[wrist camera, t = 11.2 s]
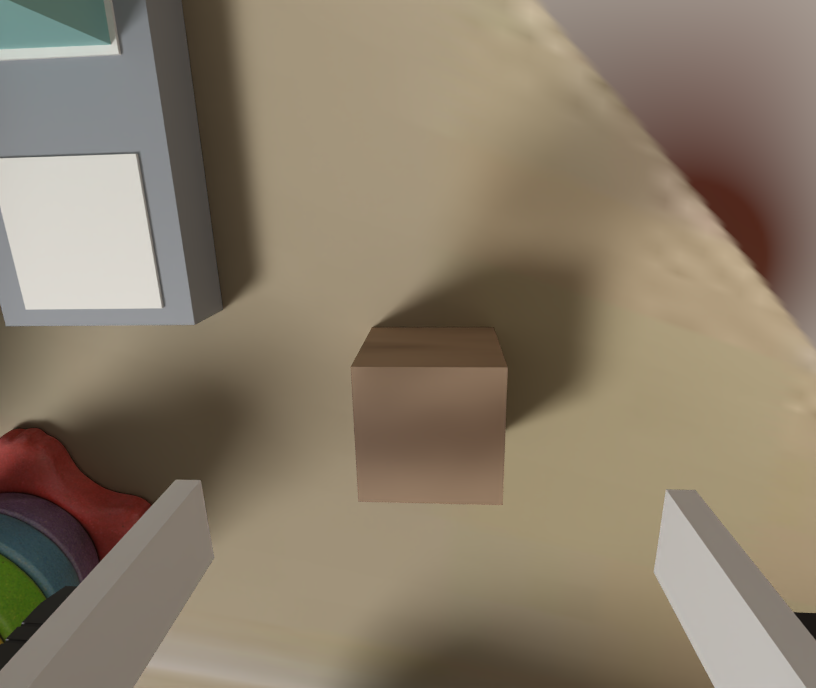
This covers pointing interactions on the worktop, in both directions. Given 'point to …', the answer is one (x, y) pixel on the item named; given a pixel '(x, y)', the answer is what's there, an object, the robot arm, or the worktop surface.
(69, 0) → the teal block
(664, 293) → the worktop surface
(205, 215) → the plinth
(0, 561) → the stacking bear
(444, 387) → the walnut block
